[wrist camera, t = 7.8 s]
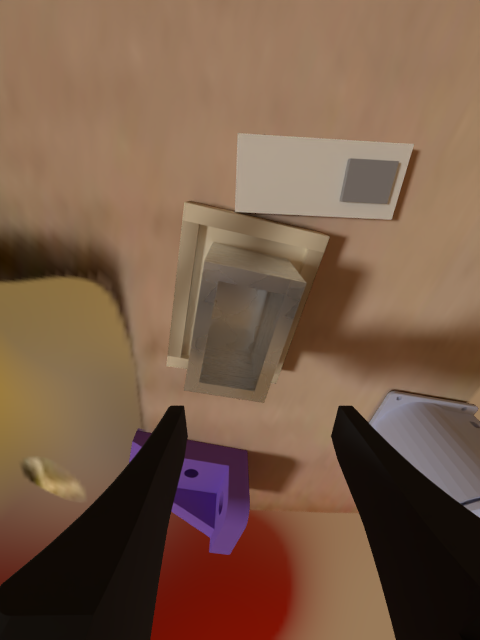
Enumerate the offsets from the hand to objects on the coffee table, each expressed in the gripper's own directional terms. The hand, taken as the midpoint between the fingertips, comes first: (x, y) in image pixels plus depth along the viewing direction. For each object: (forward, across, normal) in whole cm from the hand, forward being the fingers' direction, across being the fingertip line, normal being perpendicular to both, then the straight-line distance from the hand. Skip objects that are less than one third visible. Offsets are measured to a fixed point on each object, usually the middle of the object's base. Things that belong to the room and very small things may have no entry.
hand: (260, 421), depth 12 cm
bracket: (+10, +7, +18) cm, 21 cm away
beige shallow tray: (+10, +1, -2) cm, 10 cm away
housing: (+8, +1, -2) cm, 9 cm away
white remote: (+10, -4, -10) cm, 15 cm away
